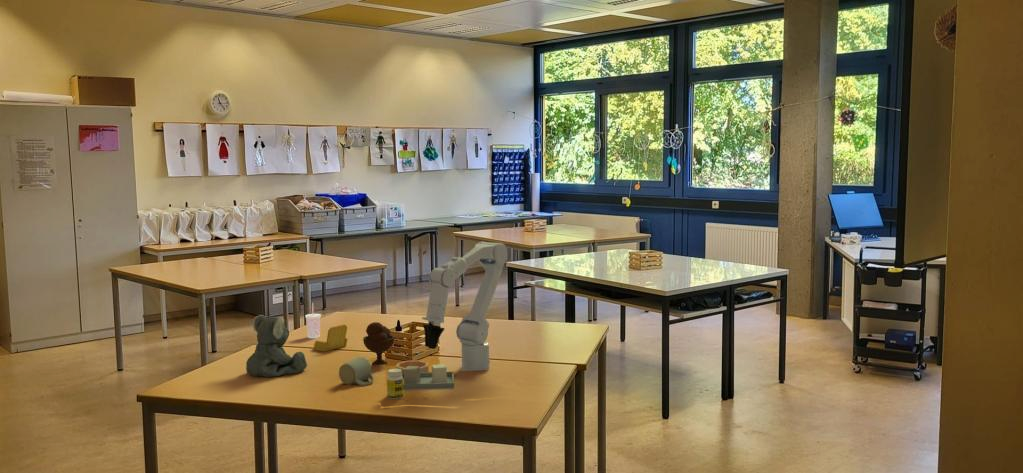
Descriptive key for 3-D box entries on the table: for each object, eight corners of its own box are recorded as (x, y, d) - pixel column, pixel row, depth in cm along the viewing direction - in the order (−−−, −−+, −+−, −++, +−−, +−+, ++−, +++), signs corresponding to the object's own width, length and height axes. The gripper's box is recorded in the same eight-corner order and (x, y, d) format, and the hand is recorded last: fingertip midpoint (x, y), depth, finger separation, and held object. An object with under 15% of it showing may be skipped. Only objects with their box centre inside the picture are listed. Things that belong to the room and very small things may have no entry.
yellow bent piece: (333, 343, 304) (332, 320, 303) (350, 347, 298) (349, 323, 297) (311, 349, 295) (311, 325, 294) (328, 352, 290) (328, 328, 289)
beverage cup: (303, 338, 312) (302, 303, 311) (309, 335, 318) (308, 301, 317) (317, 339, 311) (316, 304, 310) (324, 335, 317) (323, 301, 316)
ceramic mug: (337, 384, 249) (336, 360, 248) (354, 377, 256) (354, 354, 255) (362, 389, 243) (362, 365, 243) (379, 383, 250) (379, 359, 250)
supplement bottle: (396, 401, 231) (395, 373, 230) (383, 398, 234) (383, 371, 233) (406, 396, 235) (406, 369, 234) (394, 394, 238) (393, 367, 237)
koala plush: (310, 371, 264) (308, 314, 262) (261, 382, 251) (259, 322, 249) (283, 362, 276) (281, 307, 274) (235, 373, 263) (232, 315, 261)
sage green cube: (444, 379, 252) (444, 364, 251) (446, 382, 248) (446, 367, 247) (432, 380, 251) (431, 365, 250) (434, 383, 247) (433, 368, 246)
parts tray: (453, 375, 258) (453, 369, 258) (454, 390, 241) (454, 384, 241) (401, 376, 257) (401, 371, 257) (397, 392, 240) (397, 386, 240)
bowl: (429, 368, 266) (428, 360, 266) (428, 377, 256) (428, 368, 255) (397, 369, 265) (397, 361, 265) (395, 378, 255) (395, 369, 254)
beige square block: (420, 381, 249) (420, 366, 249) (416, 385, 245) (416, 369, 245) (408, 381, 250) (407, 365, 249) (404, 384, 246) (403, 369, 245)
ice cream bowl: (389, 369, 266) (388, 325, 265) (358, 367, 268) (357, 324, 267) (400, 361, 276) (399, 319, 275) (370, 359, 279) (369, 318, 277)
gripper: (422, 302, 257) (415, 344, 256) (427, 303, 243) (420, 347, 241) (443, 306, 258) (436, 347, 257) (449, 307, 244) (442, 350, 243)
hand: (430, 347), depth 249 cm, fingers open, 7 cm apart
